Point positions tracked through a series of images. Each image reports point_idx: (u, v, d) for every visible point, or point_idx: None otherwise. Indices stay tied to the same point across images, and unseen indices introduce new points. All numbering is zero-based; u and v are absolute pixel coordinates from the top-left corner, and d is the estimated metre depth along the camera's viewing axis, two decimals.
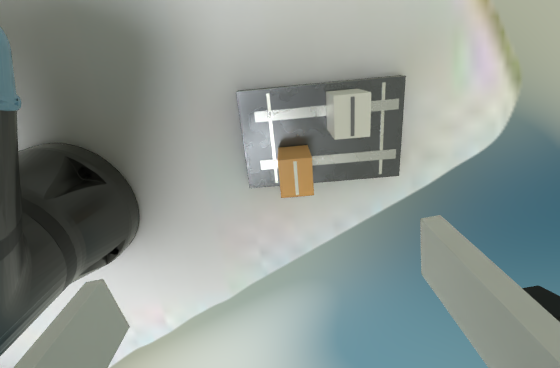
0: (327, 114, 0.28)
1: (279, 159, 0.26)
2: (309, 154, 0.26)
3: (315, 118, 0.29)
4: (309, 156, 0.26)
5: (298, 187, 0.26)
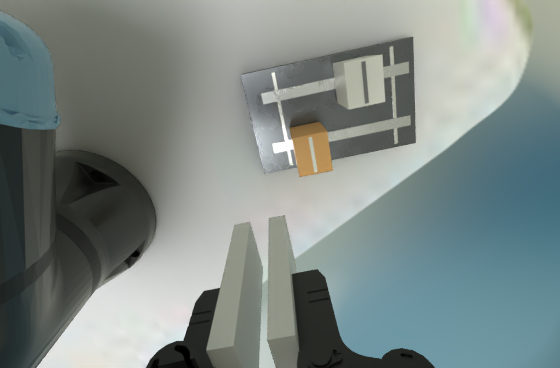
0: (336, 86, 0.27)
1: (293, 137, 0.25)
2: (323, 129, 0.25)
3: (324, 93, 0.28)
4: (324, 130, 0.25)
5: (315, 164, 0.26)
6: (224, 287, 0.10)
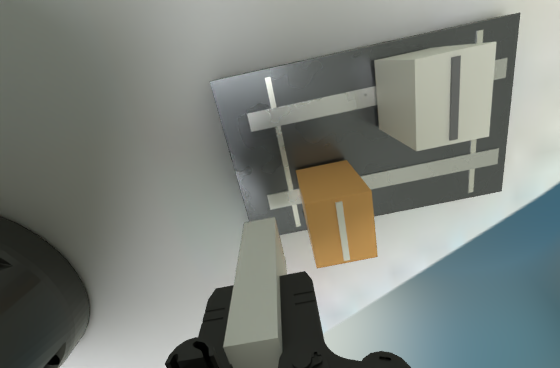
0: (381, 102, 0.15)
1: (307, 201, 0.13)
2: (362, 182, 0.14)
3: (356, 112, 0.16)
4: (365, 188, 0.13)
5: (347, 248, 0.14)
6: (237, 284, 0.10)
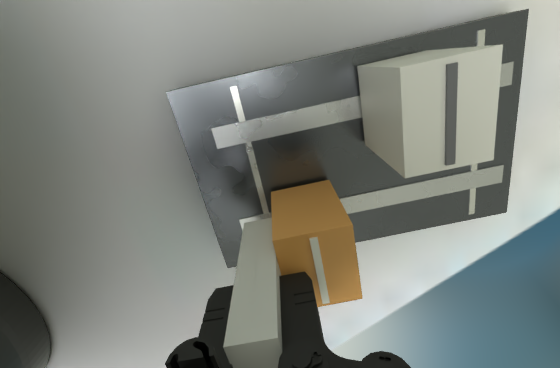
0: (366, 115, 0.13)
1: (276, 236, 0.11)
2: (342, 212, 0.11)
3: (339, 125, 0.14)
4: (345, 220, 0.11)
5: (326, 289, 0.12)
6: (238, 284, 0.10)
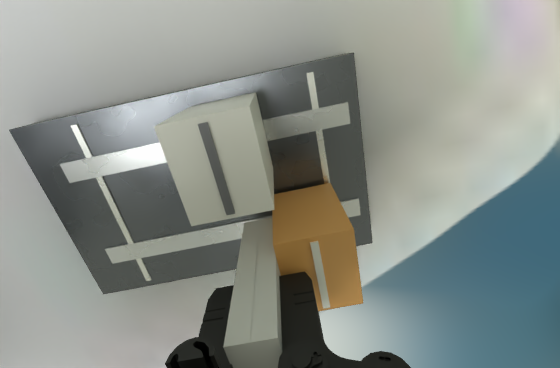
0: None
1: (277, 239, 0.11)
2: (344, 216, 0.11)
3: None
4: (346, 224, 0.11)
5: (326, 293, 0.12)
6: (238, 284, 0.10)
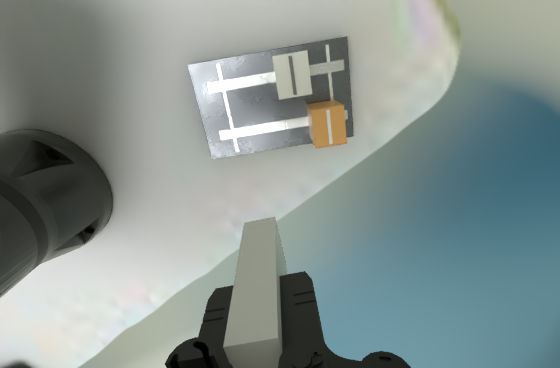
0: None
1: (312, 109, 0.27)
2: (340, 103, 0.27)
3: (266, 85, 0.30)
4: (341, 104, 0.27)
5: (331, 137, 0.27)
6: (237, 284, 0.10)
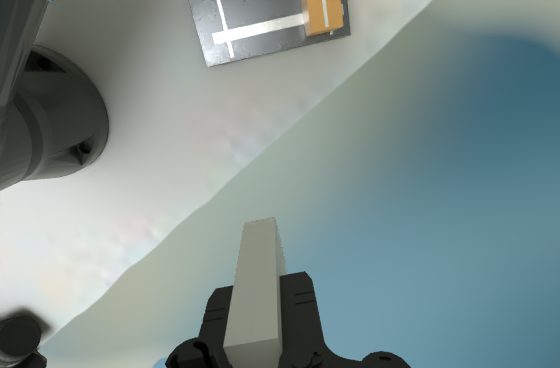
0: None
1: None
2: None
3: None
4: None
5: (327, 18, 0.27)
6: (237, 284, 0.10)
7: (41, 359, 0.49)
